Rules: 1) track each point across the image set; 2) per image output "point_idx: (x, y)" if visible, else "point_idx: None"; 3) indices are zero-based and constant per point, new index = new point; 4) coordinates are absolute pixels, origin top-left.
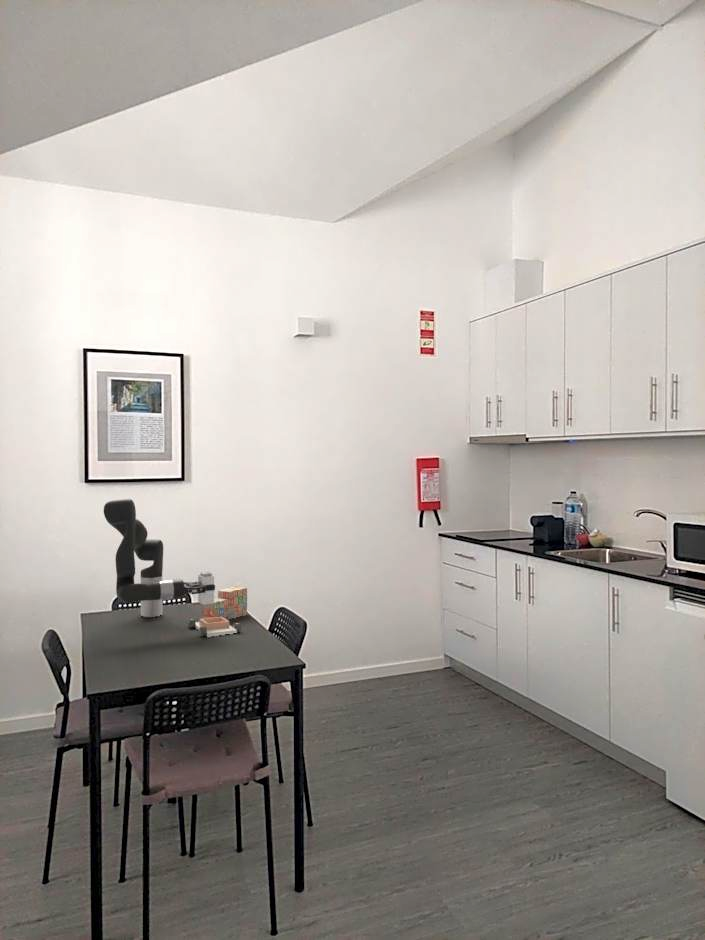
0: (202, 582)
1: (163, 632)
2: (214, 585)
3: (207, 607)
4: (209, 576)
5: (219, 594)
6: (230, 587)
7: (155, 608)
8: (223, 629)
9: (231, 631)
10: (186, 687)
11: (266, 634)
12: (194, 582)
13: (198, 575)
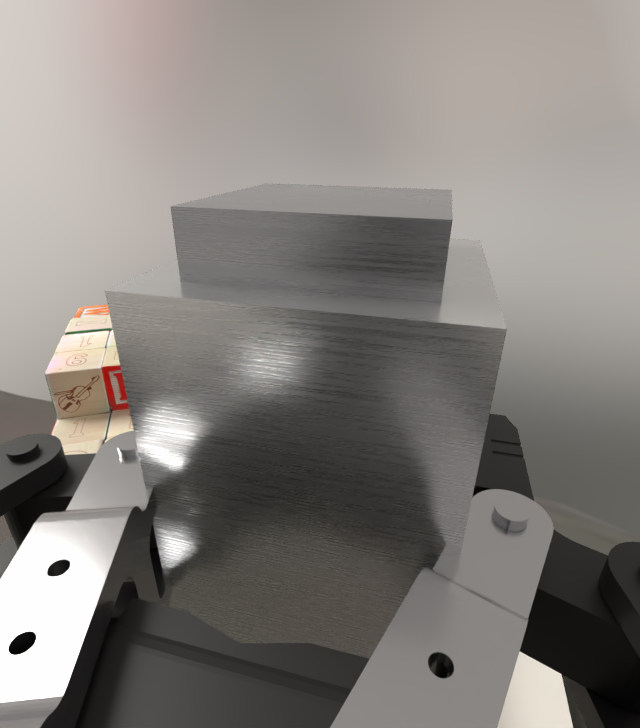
0: (474, 475)
1: None
2: None
3: None
4: (484, 263)
5: (67, 396)
6: (72, 322)
7: None
8: (499, 723)
9: (562, 692)
10: None
11: (620, 537)
12: (94, 550)
13: (125, 301)
